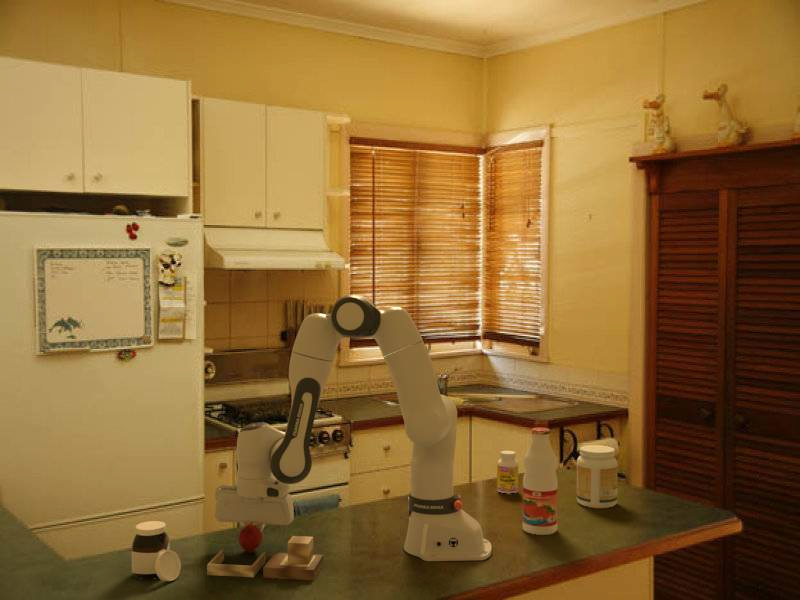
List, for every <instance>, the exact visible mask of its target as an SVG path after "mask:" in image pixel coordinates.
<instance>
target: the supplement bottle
mask: <svg viewBox="0 0 800 600" xmlns="http://www.w3.org/2000/svg"><path fill="white" fill-rule="evenodd" d="M500 457H501V458H500V459H499V460H498V461H497V464H496V465H497V467H496V471H497V474H496V491H497V493H499V492H501V493H500V494H502V493H515V494H517V493H518V491H519V462H518V460H517V459H516V452H515V451H514V450H502V451H500ZM516 492H517V493H516Z"/></svg>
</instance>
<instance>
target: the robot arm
mask: <svg viewBox="0 0 800 600" xmlns="http://www.w3.org/2000/svg"><path fill="white" fill-rule="evenodd" d="M364 337H371V338H373V339H374V340H375V341H376V344H377V345H378V347H379V350H380V352H381V355H382V357H383V360H384V362H385V364H386V367H387V369H388V372H389V375H390V377H391V379H392V382H393V385H394V388H395V392H396V396H397V399H398V400H397V401H398V404H399V408H400V412H401V415H402V418H403V422H404V431H405V434H406V436H407V438H408V439H409V440H410V441H411V442H412V443H413V446H412V452H411V453H412V455H411V459H410V463H409V464H410V466H409V468H410V471H409V474H410V476H409V480H410V481H409V483H410V484H409V487H410V490H409V493H408V498H407V512H408V517H409V518H408V527H407V533H406V537H405V542H404V545H403V550H404V551H405V552H406V553H407V554H409V555H411V556H414V557H417V558H419V559H421V560H423V561H425V562H451V561H453V562H454V561H455V562H456V561H458V562H460V561H461V562H463V561H484V560H487V559H488V558H490V556H491V555H492V552H493V550H492V549H493V547H492V543H491V542H490V541H489V540H488V539H486V538H484V534H483V530H482V527H481V524H480V523H479V522H478V521H477V520H476V519H475V518H474V517H472V516H471V515H470V514H468V513H467V512H466V511H465V510H463V509H462V507H463V502H462V498H461V495H460V494H458V495H457V494H456V493H454V462H455V452H456V441H457V428H458V409H457V406H456V404H455V402H454V401H453V400H452V399H451V398H450V397H449V396H447V395H445V394H442V393H441V391H440V388H439V384H438V379H437V375H436V369H435V367H434V365H433V361H432V359H431V357H430V354H429V351H428V349H427V347H426V344H425V342H424V340H423V338H422V335H421V333H420V331H419V329H418V327H417V324H416V323H415V321H414V320H413V317H412V316H411V315H410V314H409V312H408V310H406V309H405V308H404V307H401V306H391V307H386V308H385V309H379V308H377V306H376V304H374V302H373V301H372V300H370V299H369V298H367V297H366V296H363V295H360V294H349V295H345V296H342V297H341V298H339V299H338V300H337V301H336V302H335V304H333V307H332V309H331V312H330V313H328V314H327V313H320V312H318V313H317V312H316V313H310V314H308V315H306V317H305V318H304V319H303V321H302V323H301V325H300V326H299V328H298V332H297V334H296V337H295V340H294V344H293V346H292V351H291V353H290V360H289V367H288V380H289V381H288V382H289V387H290V391H291V392H290V393H291V404H290V405H291V406H290V409H289V410H290V411H289V415H288V420H287V424H286V429H285V431H283V430H279V429H277V428H275V427H274V426H271V425H270V424H269V423H267V422H264V421H261V422H259V421H258V422H252V423H249V424H247V425H244V426H243V427H242V428H241V429H240V430H239V432H238V434H237V438H236V462H237V471H236V485H235V484H234V485H232V484H231V485H227V484H221V485H220V486H218V487H217V488H216V489H215V492H214V493H215V495H214V496H215V500H216V502H215V509H214V518H215V520H216V522H220V523H221V522H222V523H238V524H239V523H240V524H243V528H244V527H246V526H247V525H248V523H249V522H250V521H252V522H253V524H256V525H257V526H256V527H257V528H258V529H259V530H260V531H261V532H263V530H264V528H265V526H266V525H275V526H276V525H277V526H279V525H281V526H288V525H290V524H291V523H292V522H293V520H294V519H295V512H294V511H295V510H294V502H293V498H292V495H291V494H290V493H289V492H290V488H291V487H290V485H295V484H298V483H300V482H302V481H303V480H305V479H306V478H307V477H308V476H309V474H310V472H311V471H312V464H313V463H312V462H313V461H312V456H311V451H310V450H311V449H310V442H311V436H312V431H313V428H314V422H315V418H316V413H317V409H318V406H319V403H320V400H321V399H322V398H321V397H322V395H323V393H324V391H325V388H326V385H327V383H328V380H329V378H330V376H331V372H332V369H333V366H334V362H335V358H336V353H337V350H338V346H339V344H340V343H341V341H342V340H344V339H345V338H349V339H350V338H351V339H360V338H364ZM272 475H273V476H274V477H273V476H272Z"/></svg>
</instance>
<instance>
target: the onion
mask: <svg viewBox="0 0 800 600" xmlns="http://www.w3.org/2000/svg"><path fill="white" fill-rule="evenodd" d="M262 541H263V535H262V531H260V530H259V528H258V527H257V526H256V525H254V523H253V522H252V521H250V522H249V523H248V525H247V526H246V527H244V526H243V528H242V529H241V531H239V535H238V544H239V545H240V547H241V548H242V549H243V551H246V552H248V553H249V554H252V553H254V552H255V551H256V550H257V549H258V548H260V546H261V545H262Z"/></svg>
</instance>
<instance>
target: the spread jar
mask: <svg viewBox="0 0 800 600" xmlns="http://www.w3.org/2000/svg"><path fill="white" fill-rule="evenodd" d="M166 527H167V526H166V523H165V522H163V521H161V520H160V521H158V520H152V521H144V522H140V523H137V525H135V535H134V537H133V540H132V544H131V572H132V574H133V576H134V577H135V578H137V577H138V578H137V579H139V578H142V579H141V580H155V579H154V578H156V579H159V580H161V581H163V582H171V581H174V580H176V579H177V578H178V577H179V575H180V573H181V569H182V564H181V559H180V557H179V555H178V553H176V552H175V551H173V550H171V549H170V548H171V547H170V546H171V545H170V536H169V534H168V533H167V531H166V530H167V529H166Z"/></svg>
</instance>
